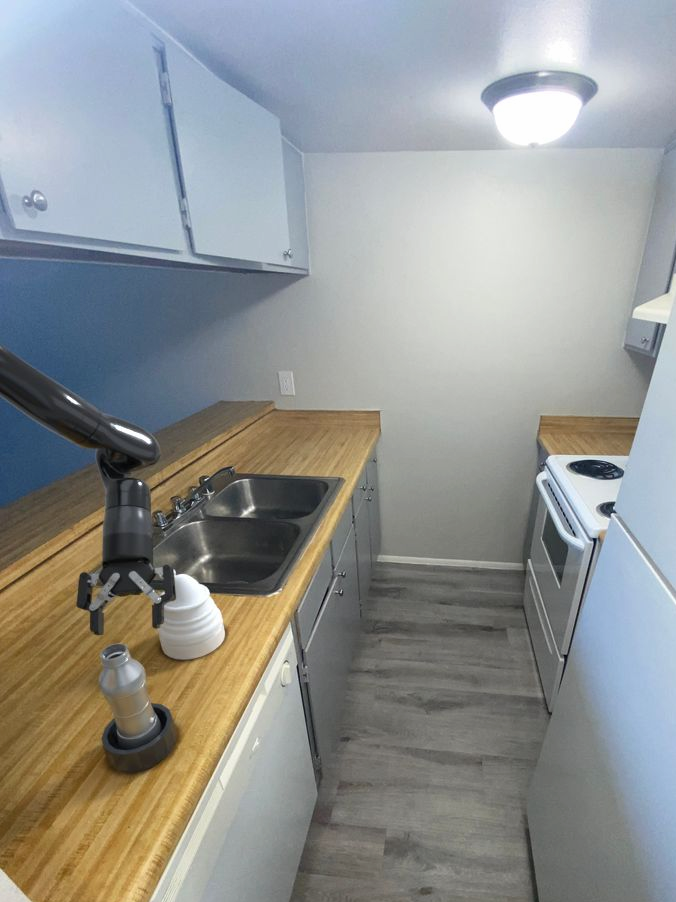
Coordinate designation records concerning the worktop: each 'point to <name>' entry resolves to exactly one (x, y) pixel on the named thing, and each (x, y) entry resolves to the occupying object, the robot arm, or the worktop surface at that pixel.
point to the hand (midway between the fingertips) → (128, 631)
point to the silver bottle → (128, 697)
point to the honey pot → (190, 621)
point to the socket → (145, 754)
